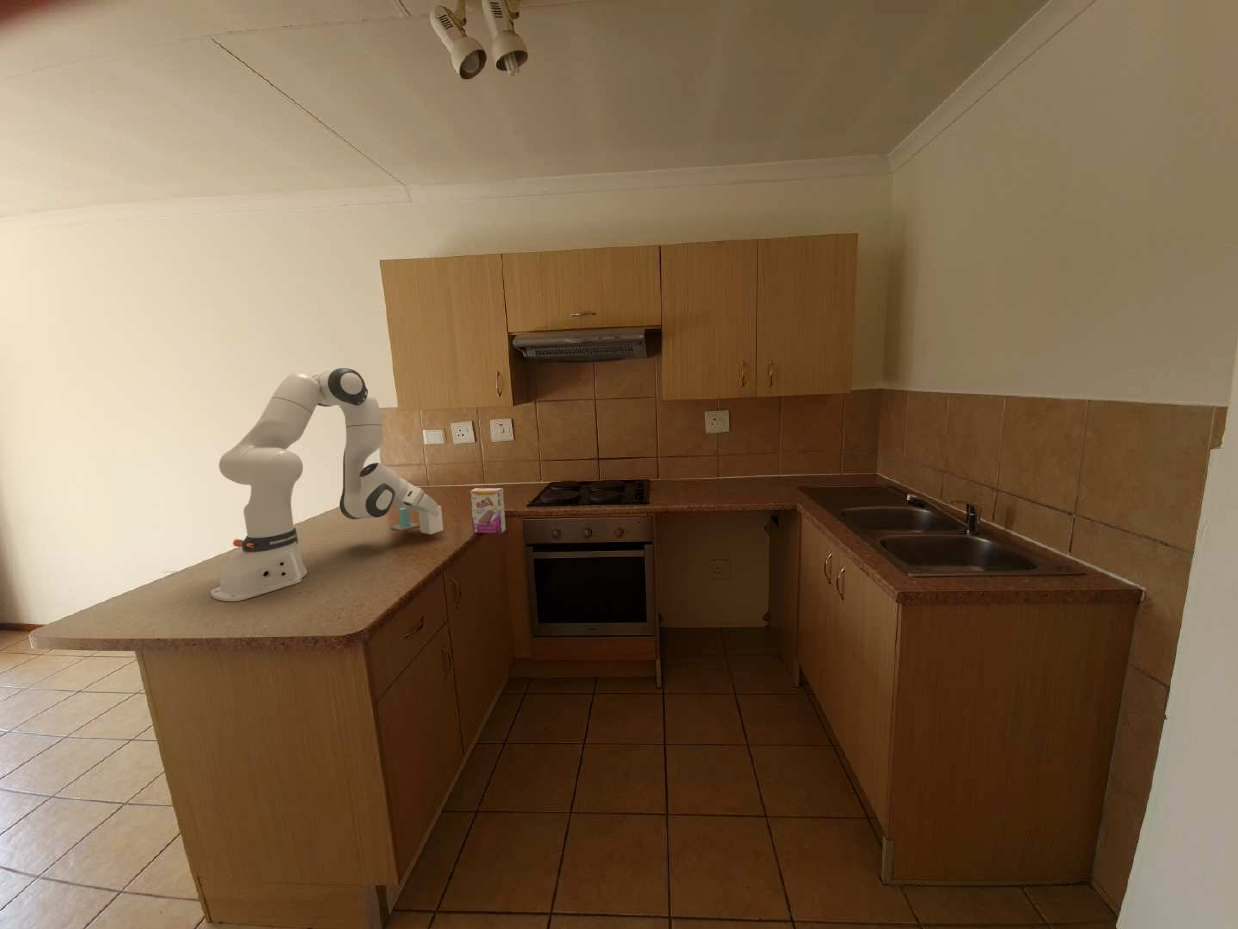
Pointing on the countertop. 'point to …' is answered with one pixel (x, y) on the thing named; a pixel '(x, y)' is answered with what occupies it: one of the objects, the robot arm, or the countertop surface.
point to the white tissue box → (430, 522)
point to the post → (404, 521)
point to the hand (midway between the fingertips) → (429, 513)
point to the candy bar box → (488, 510)
